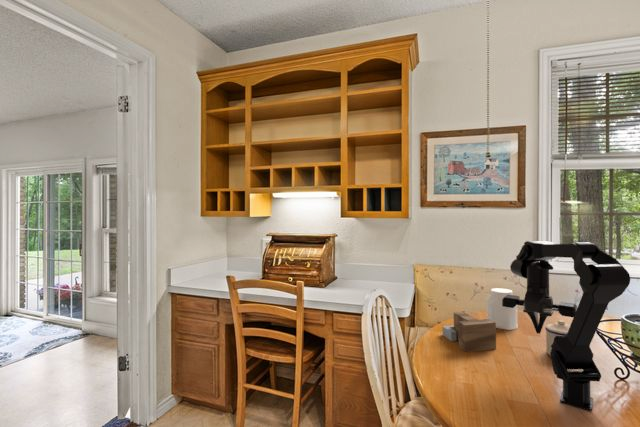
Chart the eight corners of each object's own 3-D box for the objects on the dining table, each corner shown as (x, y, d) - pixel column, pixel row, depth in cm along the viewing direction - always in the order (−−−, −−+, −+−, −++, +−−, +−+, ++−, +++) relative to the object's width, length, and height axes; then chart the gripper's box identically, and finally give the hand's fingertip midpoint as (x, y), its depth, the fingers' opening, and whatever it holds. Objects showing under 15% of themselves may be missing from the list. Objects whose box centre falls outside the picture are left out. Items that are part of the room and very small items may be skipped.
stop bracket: (477, 338, 131) (477, 329, 131) (451, 341, 129) (451, 332, 129) (468, 332, 137) (467, 324, 137) (442, 334, 136) (442, 326, 136)
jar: (485, 326, 144) (484, 291, 144) (488, 320, 152) (488, 286, 152) (516, 331, 138) (516, 294, 138) (518, 324, 146) (517, 289, 146)
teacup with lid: (574, 363, 109) (573, 327, 109) (541, 354, 116) (541, 320, 116) (583, 352, 117) (583, 319, 117) (552, 345, 124) (552, 313, 123)
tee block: (496, 349, 121) (495, 322, 121) (465, 352, 119) (464, 325, 119) (472, 334, 135) (472, 311, 135) (444, 337, 133) (444, 313, 133)
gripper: (497, 283, 103) (498, 334, 104) (573, 291, 91) (574, 349, 91) (506, 276, 112) (506, 324, 112) (577, 284, 100) (577, 337, 100)
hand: (538, 333), depth 104 cm, fingers closed
